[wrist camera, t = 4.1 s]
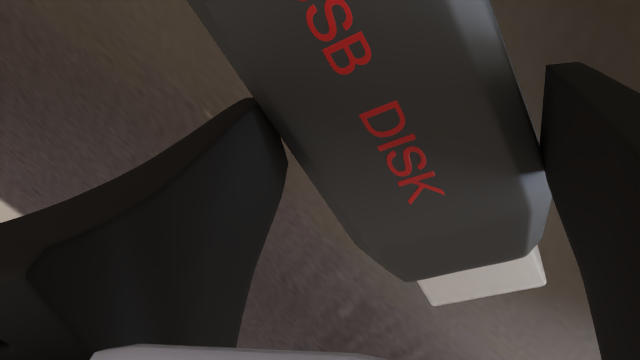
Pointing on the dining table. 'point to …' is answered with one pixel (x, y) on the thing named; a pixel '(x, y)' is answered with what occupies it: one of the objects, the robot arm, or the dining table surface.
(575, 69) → the robot arm
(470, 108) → the usb drive
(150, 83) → the dining table surface
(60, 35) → the dining table surface
